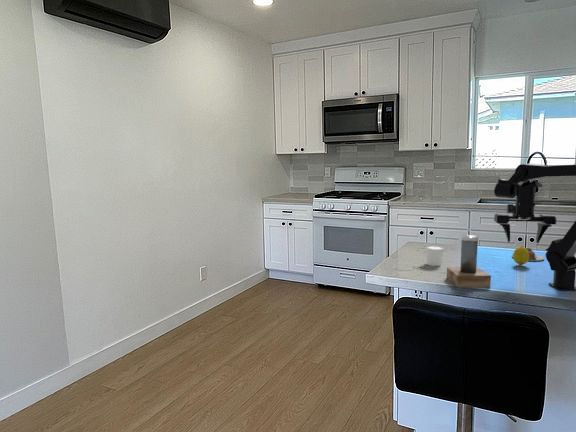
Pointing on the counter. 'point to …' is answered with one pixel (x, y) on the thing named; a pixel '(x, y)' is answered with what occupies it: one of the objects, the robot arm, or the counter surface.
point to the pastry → (533, 256)
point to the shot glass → (434, 255)
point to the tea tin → (469, 254)
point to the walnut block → (468, 278)
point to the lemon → (521, 255)
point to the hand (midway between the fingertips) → (522, 242)
